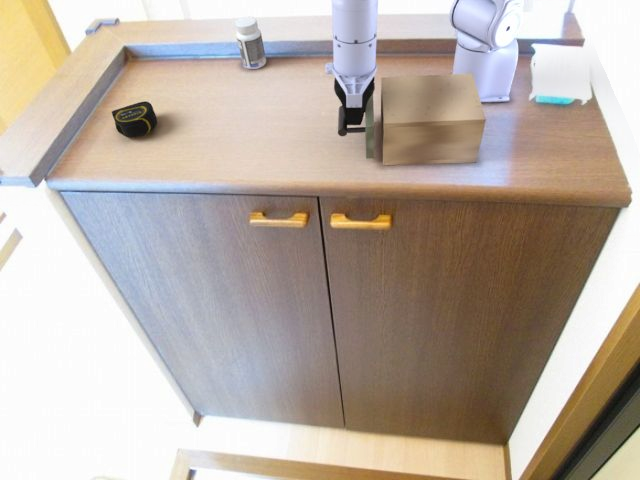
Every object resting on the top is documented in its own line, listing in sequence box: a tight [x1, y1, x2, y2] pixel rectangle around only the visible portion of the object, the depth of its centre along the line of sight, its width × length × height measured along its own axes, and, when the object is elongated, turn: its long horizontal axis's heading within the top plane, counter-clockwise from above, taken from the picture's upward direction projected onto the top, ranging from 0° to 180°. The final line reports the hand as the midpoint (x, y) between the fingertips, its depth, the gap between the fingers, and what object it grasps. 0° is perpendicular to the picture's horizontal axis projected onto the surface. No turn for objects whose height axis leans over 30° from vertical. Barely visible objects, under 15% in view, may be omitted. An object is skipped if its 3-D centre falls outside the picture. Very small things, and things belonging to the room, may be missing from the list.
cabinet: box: [380, 73, 487, 166], centre depth 69 cm, size 14×12×8 cm
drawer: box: [337, 88, 384, 160], centre depth 70 cm, size 17×10×6 cm, turn 87°
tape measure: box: [111, 101, 158, 138], centre depth 79 cm, size 7×7×4 cm
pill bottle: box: [235, 16, 267, 70], centre depth 89 cm, size 5×5×8 cm
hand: (354, 122), depth 70 cm, fingers closed, pressing on drawer
